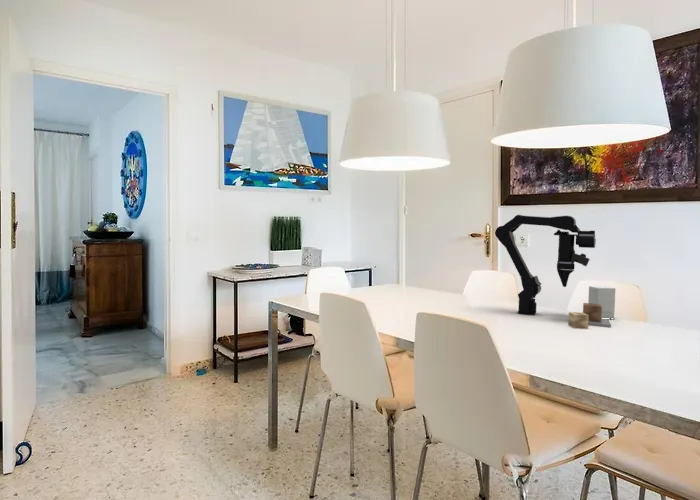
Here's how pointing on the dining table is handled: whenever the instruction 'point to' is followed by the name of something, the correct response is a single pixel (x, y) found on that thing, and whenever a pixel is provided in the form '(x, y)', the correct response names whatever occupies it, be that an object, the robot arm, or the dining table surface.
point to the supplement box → (603, 299)
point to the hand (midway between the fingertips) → (564, 285)
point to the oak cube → (578, 320)
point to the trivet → (600, 323)
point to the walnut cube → (593, 311)
